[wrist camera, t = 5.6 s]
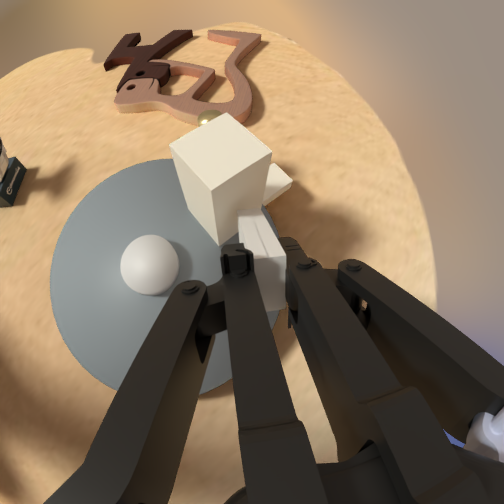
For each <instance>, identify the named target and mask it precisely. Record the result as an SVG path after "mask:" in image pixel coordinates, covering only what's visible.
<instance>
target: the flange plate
mask: <svg viewBox="0 0 504 504" xmlns="http://www.w3.org/2000/svg"><path fill="white" fill-rule="evenodd" d="M169 147H170V150H171V154H172V157H173V159H160V160H153V161H147V162H144V163H140V164H136V165H133V166H131V167H128V168H126V169H123V170H121V171H119V172H118V173H116V174H114V175H112V176H110V177H109V178H107V179H106V180H104V181H103V182H101V183H100V184H99V185H97V186H96V187H95V188H94V189H93V190H92V191H91V192H89V193H88V194H87V195H86V197H85V198H84V199H83V200H82V201H81V202H80V203H79V204H78V206H77V207H76V208H75V210H74V211H73V212H72V214H71V215H70V217H69V219H68V220H67V222H66V224H65V225H64V227H63V229H62V232H61V234H60V236H59V239H58V241H57V244H56V248H55V251H54V254H53V259H52V265H51V273H50V296H51V303H52V309H53V313H54V317H55V320H56V323H57V327H58V329H59V331H60V333H61V336H62V338H63V340H64V342H65V343H66V345H67V347H68V348H69V350H70V351H71V353H72V354H73V356H74V357H75V358H76V359H77V361H78V362H79V363H80V364H81V365H82V366H83V367H84V368H85V369H86V370H87V371H88V372H89V373H90V374H91V375H92V376H94V377H95V378H96V379H98V380H99V381H101V382H102V383H104V384H105V385H107V386H109V387H111V388H113V389H115V390H117V391H118V389H119V387H120V385H121V383H122V381H123V379H124V378H125V376H126V374H127V372H128V370H129V368H130V366H131V364H132V362H133V360H134V359H135V357H136V355H137V353H138V351H139V349H140V347H141V346H142V344H143V342H144V340H145V338H146V337H147V335H148V333H149V331H150V329H151V328H152V326H153V324H154V322H155V321H156V319H157V317H158V315H159V313H160V312H161V310H162V308H163V307H164V305H165V303H166V301H167V300H168V298H169V296H170V294H171V293H172V291H173V289H174V288H175V287H176V286H177V285H178V284H180V283H181V282H184V281H187V280H200V281H202V282H204V283H205V284H206V286H209V285H212V284H214V283H216V282H218V281H219V280H220V279H221V278H222V269H221V261H220V256H221V249H222V247H223V246H224V245H227V244H236V243H240V242H239V231H238V219H237V210H243V209H253V208H260V209H261V211H262V212H263V214H264V216H265V218H266V220H267V221H268V223H269V225H270V227H271V228H272V230H273V232H274V234H275V236H276V237H277V238H279V235H278V231H277V229H276V227H275V225H274V223H273V220H272V218H271V216H270V215H269V213H268V212H267V210H266V208H265V206H266V205H267V204H269V203H270V202H271V201H273V200H274V199H276V198H277V197H278V196H280V195H281V194H282V193H284V192H285V191H287V190H288V189H289V188H291V185H292V182H293V180H292V179H291V178H290V177H289V176H288V175H287V174H286V173H285V172H284V171H283V170H282V169H280V168H279V167H278V166H277V165H276V164H275V163H273V164H271V165H270V161H271V156H272V151H271V150H270V149H269V148H268V147H267V146H266V145H265V144H264V143H262V142H261V141H260V140H259V139H258V138H257V137H256V136H254V135H253V134H252V133H251V132H250V131H249V130H247V129H246V128H245V127H244V126H243V125H241V124H240V123H239V122H238V121H237V120H235V119H234V118H233V117H232V116H231V115H229V114H228V113H227V112H226V113H224V114H222V115H220V116H218V117H217V118H215V119H213V120H211V121H209V122H207V123H205V124H203V125H202V126H200V127H198V128H196V129H194V130H193V131H191V132H189V133H187V134H186V135H184V136H182V137H181V138H179V139H177V140H176V141H174V142H172V143H171V144H169ZM279 311H280V310H275V311H268V312H266V313H267V316H268V320H269V323H270V327H271V330H272V329H273V327H274V324H275V322H276V320H277V317H278V314H279ZM215 335H216V337H215V342H214V346H213V349H212V352H211V356H210V359H209V363H208V366H207V369H206V373H205V376H204V380H203V383H202V387H201V390H200V393H199V395H200V394H203V393H206V392H208V391H210V390H212V389H214V388H216V387H218V386H220V385H222V384H224V383H225V382H227V381H228V380H229V379H231V378H232V370H231V361H230V352H229V342H228V333H227V330H225V331H223V332H220V333H217V334H215Z"/></svg>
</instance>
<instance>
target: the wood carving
mask: <svg viewBox="0 0 504 504" xmlns="http://www.w3.org/2000/svg"><path fill="white" fill-rule="evenodd" d="M192 37H193V33H192V30H173V31H172V32H170V33H169V34H167V35H166V36H165V37H163V38H162V39H160V40H159V41H158V42H156V43H155V44H153V45H146V46H137V45H138V44H139V43H140V42H141V36H140V33H132V34H126V35H125V36H124V37H123V38H122V39H121V40H120V42H119V43H118V44H117V46H116V47H115V48H114V50H113V51H112V52H111V54H110V55H109V57H108V58H107V59H106V61H105V63H104V68H105V70H106V71H108V70H109V69H110V68H112V67H113V66H117V65H125V64H130V66H129V67H128V69H127V71H126V72H125V74H124V76H123V77H122V79H121V81H120V83H119V85H118V87H117V90H116V91H117V95H116V97H115V100H114V103H115V106H116V108H117V110H118V112H119V113H140V112H145V111H162V112H165V113H168V114H169V115H171V116H172V117H174V118H175V119H177V120H180V121H182V122H185V123H188V124H192V125H195V126H199V125H198V116H199V114H200V113H202V112H203V111H206V110H218V111H220V112H221V113H222V114H224V113H226V112H227V113H228V114H229V115H231V116H232V117H233V118H234V119H235V120H237V121H238V122H239V123H240V124H242V123H243V122H244V121H245V120H246V119H247V118H248V117H249V115H250V113H251V108H252V91H251V88H250V85H249V83H248V81H247V79H246V78H245V76H244V75H243V74H242V73H241V72H240V70H239V69H238V68H237V65H238V64H239V62H240V61H241V60H242V59H243V58H244V57H245V56H246V55H247V54H248V53H249V52H250V51H251V50H253V49H254V48H255V47H256V46H257V45H258V44H259V43H260V42H261V34H256V33H247V32H237V31H223V30H208V39H209V40H211V41H215V42H219V43H223V44H227V45H232V46H236V48H235V49H234V51H233V52H232V54H231V55H230V56H229V57H228V59H227V60H226V62H225V75H226V76H227V78H228V79H229V81H230V83H231V84H232V87H233V89H234V93H235V96H234V99H233V100H232V101H230V102H226V103H209V102H202V101H198V99H199V98H200V96H201V95H202V94H203V93H204V92H205V91H206V90H207V89H208V88H209V86H210V85H211V84H212V83H213V82H214V80H215V70H214V69H212V68H208V67H204V66H200V65H195V64H190V63H184V62H179V61H173V60H159V59H160V58H161V57H163V56H164V55H165V54H167V53H168V52H169V51H171V50H172V49H174V48H175V47H176V46H178V45H179V44H181V43H182V42H184V41H186V40H188V39H190V38H192ZM170 74H171V76H174V75H188V76H193V77H197V78H199V79H198V81H197V82H196V83H195V84H194V85H193V86H192V87H190V88H189V89H188V90H187V91H186V92H184V93H183V94H180V95H174V96H171V95H162V94H161V90H160V87H162V86H164V85H165V84H166V83H167V82H168V80H169V77H170Z"/></svg>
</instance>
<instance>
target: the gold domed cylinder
mask: <svg viewBox="0 0 504 504" xmlns="http://www.w3.org/2000/svg"><path fill="white" fill-rule="evenodd" d="M220 115H222V113H221V112H220V111H218V110H206V111H203V112H202V113H200V114H199V116H198V125H199V127H200V126H202V125H203V124H205V123H207V122H209V121H211V120H213V119H215V118H217V117H218V116H220Z"/></svg>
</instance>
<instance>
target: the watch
mask: <svg viewBox="0 0 504 504" xmlns="http://www.w3.org/2000/svg"><path fill="white" fill-rule="evenodd" d="M26 170H27V169H26V168H25V167H24V166H23V165H22V164H21V162H20V161H19V160H18V159H17V158H16V157H12V158H8V157H7V154H6V149H5V147H4V146H3V143H2V140H1V137H0V207H11V206H13V204H14V201H15V198H16V195H17V192H18V190H19V187H20V185H21V182H22V180H23V177H24V175H25V172H26Z"/></svg>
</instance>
